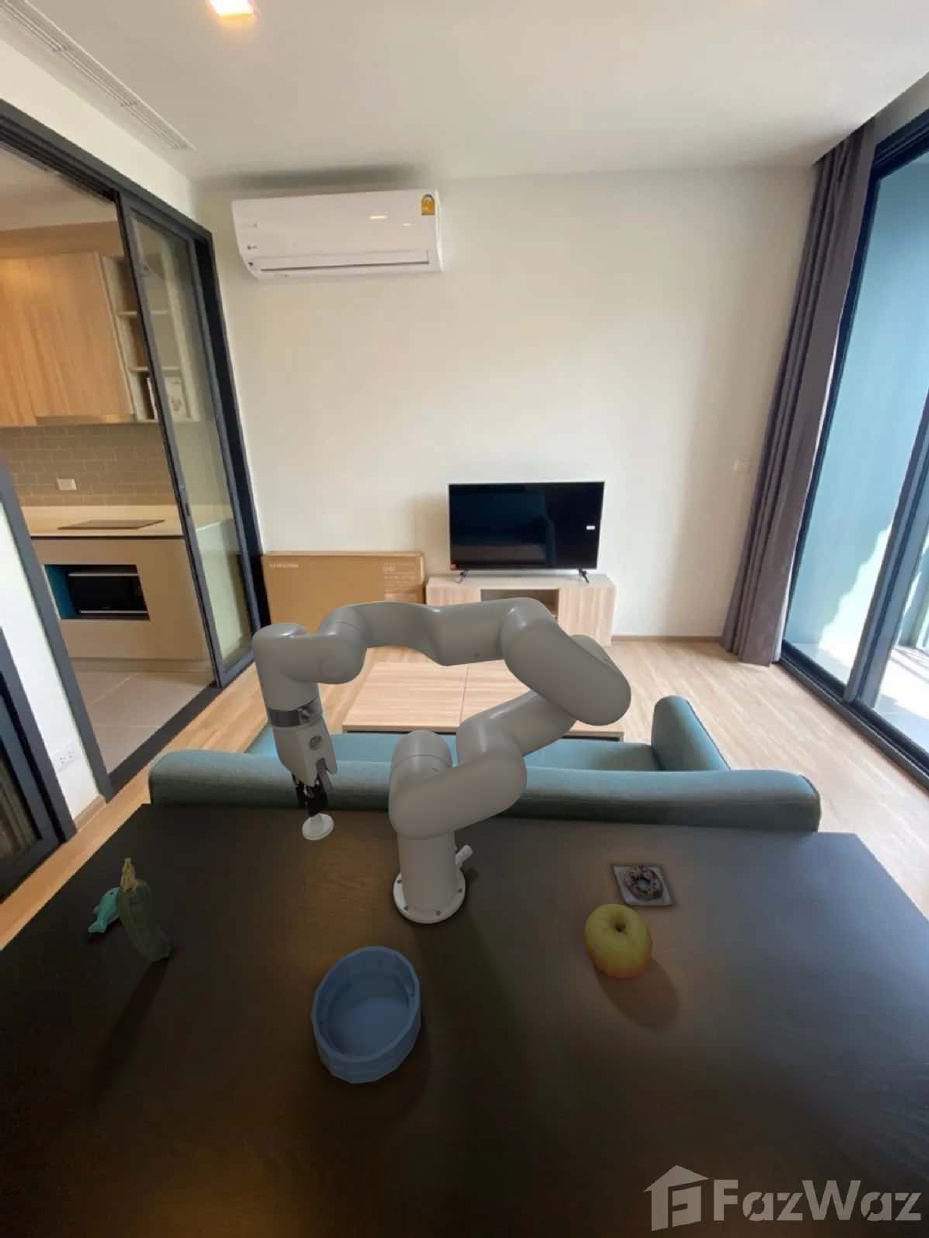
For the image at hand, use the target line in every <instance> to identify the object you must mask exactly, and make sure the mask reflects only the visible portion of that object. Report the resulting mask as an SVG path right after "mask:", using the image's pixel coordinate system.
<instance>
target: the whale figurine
mask: <svg viewBox="0 0 929 1238" xmlns="http://www.w3.org/2000/svg"><path fill="white" fill-rule="evenodd" d="M120 887H121V886H117V887H114V888H111V889H109V890H108V891H106V892H105V893H104V895H102V897H101V899H100V902H99V904H98V905H96V907H94V909H93V914H94V915H97V916H96V920H95V921H94V922H93V923H92V924H90V926H89V927H88V930H87V931H88V933H96V932H98V933H105V932H106V931H107V928H108V926H109V925H111V923H114V921H116V920H117V919H118V918H119V915H118V912H117V909H116V904H115V899H116V895H117V892H118V890H119V888H120Z"/></svg>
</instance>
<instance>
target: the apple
mask: <svg viewBox="0 0 929 1238" xmlns="http://www.w3.org/2000/svg"><path fill="white" fill-rule="evenodd" d="M583 933H584V934H583V943H584V947H585V950H586V953H587V954H586V955H588V957H589V958H590V960H591V961H592V963H593V964H594V965H595V967H596V968H597V969H599V970H600V971H601V972H602V973H603V974H605V975H606V976H608V977H612V978H614V979H617V980H619V979H620V980H623V979H624V980H625V979H626V980H630V979H631V978H634V977H637V976H638V975H640V974H642V973H643V972H644V971H645V970H646V968H647V967H648V965H649V964H650V962H651V957H652V952H653V939H652V934H651V931H650V929H649V927H648V926H647V924H646V922H645V920H644V919H643V917H642V916H641V915H639V914H638V913H637V912H636V911H635V910H633V909H631V908H629V907H627V906H626V905H624V904H618V903H614V902H613V903H606V904H602V905H600V906H599V907H597V908H596V909H595V910H593V911H592V912H591V913H590V914H589V916H588V918H587V920H585V925H584V932H583Z"/></svg>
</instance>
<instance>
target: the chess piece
mask: <svg viewBox="0 0 929 1238" xmlns="http://www.w3.org/2000/svg"><path fill="white" fill-rule="evenodd" d="M304 787H305V785H304ZM304 793H305V795H307V792H306V787H305V788H304ZM306 805H307V804H306ZM334 827H335V823H334V821H333V818H332V816H330V815H329V814H326V813H321V812H320V813H318V814H317V815H315V816H313V817H311V816H309V818H307V819H306V820H305V821H304V823H303V825H302V828H301V830H302V831H301V832H302V833H301V834H302V836H303V837H304V838H305V839H306V840H309V841H318V840H321V839H323V838H326V837H327V836H328V835H329V834H331V832H333V829H334Z"/></svg>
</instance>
